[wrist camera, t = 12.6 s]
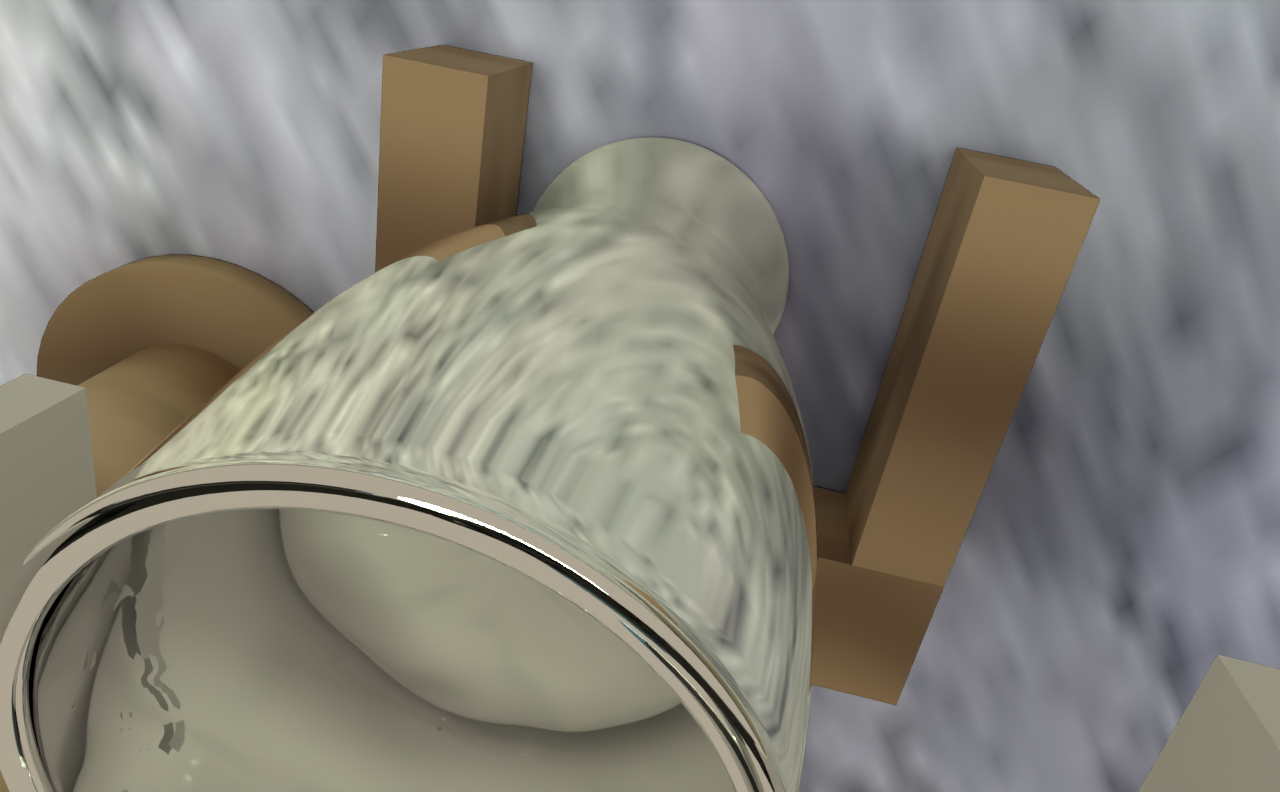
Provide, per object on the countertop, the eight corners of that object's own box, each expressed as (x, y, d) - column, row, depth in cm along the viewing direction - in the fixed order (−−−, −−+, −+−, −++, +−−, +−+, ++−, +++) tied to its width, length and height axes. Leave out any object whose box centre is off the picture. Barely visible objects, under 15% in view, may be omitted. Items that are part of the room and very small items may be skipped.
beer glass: (449, 218, 21) (-213, 661, 7) (708, 47, 18) (442, 232, 5) (611, 453, 22) (331, 1150, 9) (864, 328, 20) (995, 1030, 7)
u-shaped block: (884, 622, 23) (896, 705, 21) (412, 509, 24) (364, 574, 22) (1055, 166, 18) (1100, 199, 15) (442, 45, 19) (383, 55, 16)
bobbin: (373, 586, 26) (67, 1023, 15) (84, 515, 26) (-410, 884, 15) (386, 296, 22) (-22, 606, 11) (44, 220, 22) (-658, 443, 12)
